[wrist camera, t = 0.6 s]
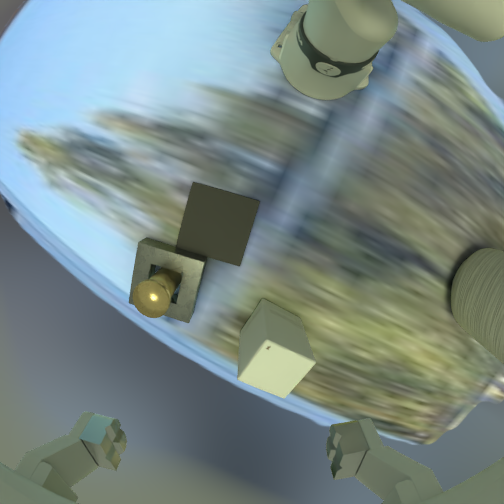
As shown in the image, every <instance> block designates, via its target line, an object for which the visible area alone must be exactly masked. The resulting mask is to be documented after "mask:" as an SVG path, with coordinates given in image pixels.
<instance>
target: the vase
mask: <svg viewBox="0 0 504 504" xmlns="http://www.w3.org/2000/svg"><path fill="white" fill-rule="evenodd" d="M451 308H452V313H453V316H454V318H455V320H456V322H457V323H458V324H459V325H460V326H461V327H462V328H463V329H464V330H465V331H466V332H467V333H468V334H469V335H470V336H472V337H473V338H474V339H475V340H476V341H477V342H479V343H480V344H481V345H482V346H483V347H484V348H486V349H487V350H488V351H489V352H490V353H491V354H493V355H494V356H495V357H496V358H497V359H498V360H499V361H501V362H502V363H503V364H504V251H500V250H497V249H493V248H484V249H481V250H478V251H476V252H475V253H473V254H472V255H471V256H470V257H468V258H467V259H466V260H465V261H464V262H463V263H462V264H461V266H460V267H459V269H458V270H457V272H456V274H455V277H454V280H453V283H452V289H451Z"/></svg>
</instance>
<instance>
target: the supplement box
mask: <svg viewBox="0 0 504 504" xmlns="http://www.w3.org/2000/svg"><path fill="white" fill-rule="evenodd" d="M315 363H316V361H315V358H314V355H313V353H312V350H311V347H310V344H309V341H308V338H307V336H306V333H305V330H304V327H303V324H302V321H301V319H300V318H299V317H298V316H296V315H294V314H292V313H290V312H288V311H286V310H284V309H282V308H280V307H279V306H277V305H275V304H273V303H271V302H269V301H267V300H265V299H262V300H261V301H260V303H259V304H258V306H257V307H256V309H255V310H254V312H253V313H252V315H251V316H250V318H249V319H248V321H247V322H246V324H245V325H244V327H243V328H242V330H241V332H240V343H239V360H238V376H237V380H240V381H242V382H244V383H247V384H249V385H252V386H254V387H256V388H259V389H261V390H264V391H266V392H269V393H271V394H274V395H276V396H279V397H282V398H285V397H286V396H287V395H288V394H289V393H290V392H291V390H292V389H293V388H294V387H295V386H296V385H297V384H298V382H299V381H300V380H301V379H302V378H303V377H304V376H305V375H306V374H307V372H308V371H309V370H310V369H311V368H312V367H313V365H314V364H315Z"/></svg>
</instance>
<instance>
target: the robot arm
mask: <svg viewBox="0 0 504 504" xmlns="http://www.w3.org/2000/svg"><path fill="white" fill-rule="evenodd" d="M401 1H403V2H405V3H407V4H409V5H411V6H413V7H415V8H416V9H418V10H420V11H422V12H423V13H425V14H427V15H429V16H430V17H432V18H433V19H435V20H437V21H438V22H440V23H442V24H444V25H446V26H449V27H451V28H453V29H455V30H457V31H459V32H461V33H463V34H465V35H467V36H469V37H471V38H473V39H475V40H477V41H481V42H488V41H494V40H497V39H500V38H502V37H503V36H504V0H401ZM397 27H398V16H397V12H396V10H395V7H394V5H393V3H392V1H391V0H309V3H308V4H307V5H303V6H302V7H301V8H300V9H299V10H298V11H295V12H294V13H293V15H292V17H291V21H290V22H289V24H288V25H287V27H286V28H285V29H284V31H283V32H282V33H281V35H280V36H279V38H278V39H277V41H276V42H275V43H274V45H273V46H272V48H271V50H270V53H271V55H272V56H273V57H274V58H275V59H276V60H277V61H278V62H279V63H280V65H281V67H282V70H283V73H284V75H285V77H286V78H287V80H288V81H289V82H290V84H291V85H292V86H293V87H295V88H296V89H297V90H298V91H300V92H301V93H303V94H305V95H307V96H309V97H312V98H316V99H321V100H333V99H337V98H340V97H343V96H345V95H346V94H348V93H349V92H351V91H353V90H359V89H364V88H366V87H367V85H368V75H369V74H370V73H371V71H372V70H373V67H372V61H373V60H374V59H375V57H376V55H377V54H378V51H379V49H381V48H382V47H383V46H384V45H385V44H386V43H387V42H388V41H389V40H390V39H391V38H392V37H393V36H394V34H395V32H396V30H397ZM278 46H281V47H282V48H279V47H278ZM120 426H121V424H120V422H119V420H118V419H115V418H110V417H106V416H103V415H98V414H95V413H91V412H87V411H85V412H83V413H82V415H81V416H80V418H79V419H78V421H77V422H76V424H75V425H74V427H73V428H72V430H71V432H70V433H69V435H63V436H61V437H59V438H57V439H55V440H53V441H51V442H49V443H47V444H44V445H42V446H40V447H37V448H35V449H33V450H31V451H28V452H26V454H25V455H24V457H23V458H22V460H21V461H20V463H19V464H18V466H17V467H16V469H15V470H12V469H11V468H9V467H8V466H6V465H4V464H3V463H1V462H0V504H79V503H76V501H77V499H78V496H77V495H76V493H75V492H73V490H72V489H71V488H70V487H72V486H73V485H74V484H76V483H78V482H79V481H80V480H82V479H83V478H85V477H86V476H87V475H89V474H90V473H91V472H93V471H94V470H96V469H97V468H98V466H99V467H103V468H107V469H111V470H115V471H116V470H117V468H118V465H119V463H120V461H121V459H120V456H119V455H120V454H122V453H123V452H124V451H125V448H126V443H127V440H126V435H125V433H124V431H122V430H121V429H120ZM329 431H330V436H329V437H328V438H327V443H326V450H327V456H328V459H329V460H331V461H332V464H331V471H332V475H333V478H334V480H335V479H342V478H348V477H353V476H355V478H357V479H358V480H359V481H360V482H361V483H363V484H364V485H365V486H366V487H368V488H369V489H370V490H371V491H373V492H374V493H375V494H377V495H378V496H379V497H380V498H381V499H383V500H384V501H383V503H382V504H504V457H502V458H501V459H500V460H498V461H497V462H495V463H494V464H492V465H491V466H489V467H488V468H486V469H484V470H483V471H481V472H480V473H478V474H476V475H475V476H473V477H471V478H469V479H468V480H466V481H464V482H462V483H460V484H459V485H457V486H455V487H453V488H451V489H449V490H447V491H445V492H443V490H442V488H441V486H440V484H439V483H438V481H437V479H436V477H435V475H434V473H433V471H432V470H431V469H429V468H427V467H426V466H424V465H422V464H419V463H418V462H416V461H414V460H412V459H410V458H408V457H406V456H405V455H403V454H401V453H399V452H397V451H396V450H394V449H392V448H390V447H389V446H385V447H384V446H383V443H382V441H381V439H380V437H379V435H378V433H377V431H376V429H375V427H374V424H373V422H372V420H371V419H370V418H367V419H362V420H357V421H356V420H355V421H350V422H345V423H339V424H332V425H331V426H330V430H329Z"/></svg>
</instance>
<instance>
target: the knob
mask: <svg viewBox="0 0 504 504" xmlns="http://www.w3.org/2000/svg"><path fill="white" fill-rule="evenodd" d="M181 281H182V275H181V273H180V272H176V271H173V270H170V269H167V268H164V267H161V268H160V269H159V270H158V271H157V272H156V273H155V274H154V275H153V276H152V277H151V278H150V279H146V280H143V281H142V282H140V283H139V284H138V285H137V286H136V287H135V289H134V291H133V302H134V305H135V307H136V308H137V310H138V311H139V312H140V313H142V314H143V315H145V316H147V317H150V318H157V317H160V316H162V315H164V314H165V313H166V311H167V310H168V308H169V306H170V304H171V297H172V295H173V294H174V292H175V291H176V289H177V288H178V286H179V285H180V283H181Z"/></svg>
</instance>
